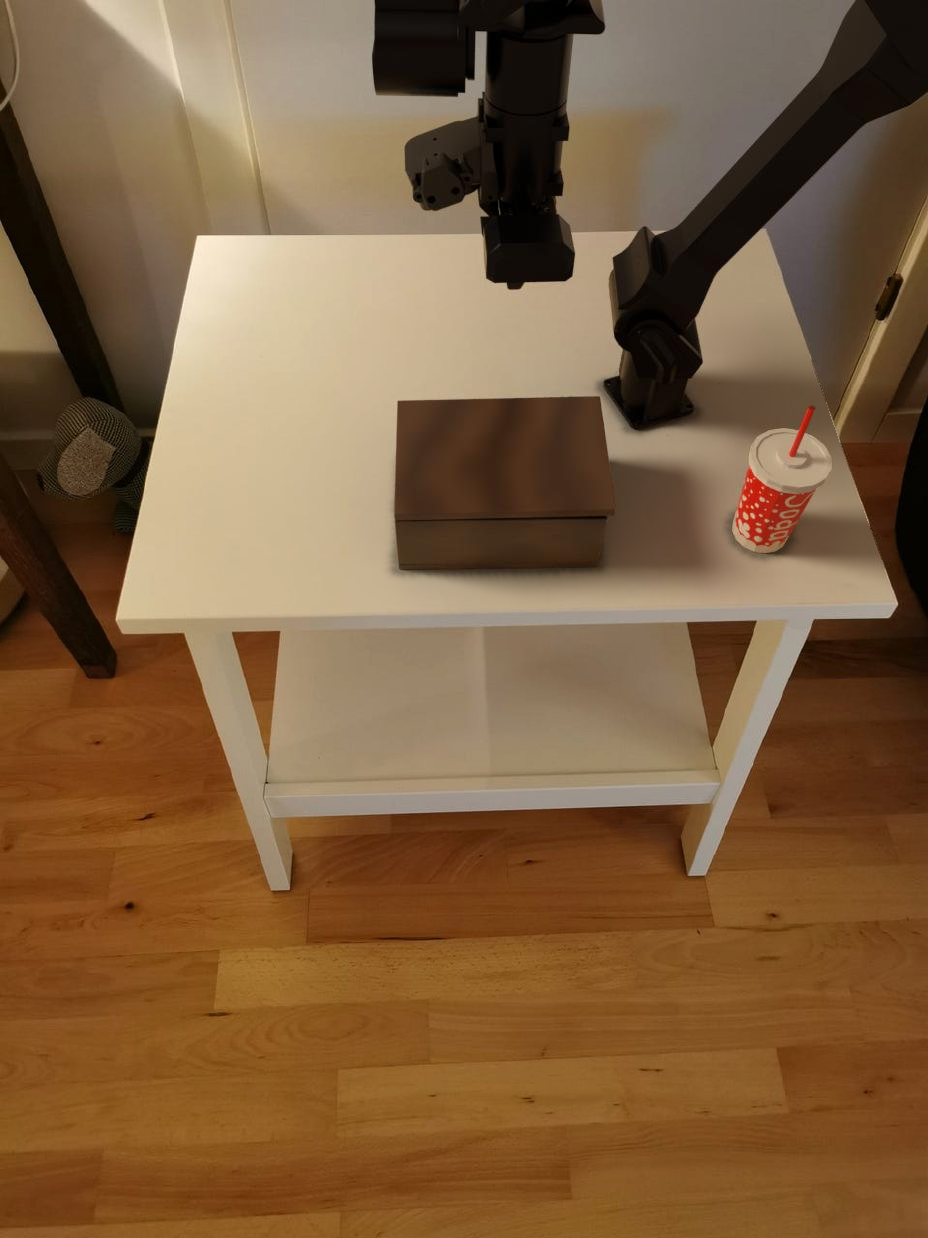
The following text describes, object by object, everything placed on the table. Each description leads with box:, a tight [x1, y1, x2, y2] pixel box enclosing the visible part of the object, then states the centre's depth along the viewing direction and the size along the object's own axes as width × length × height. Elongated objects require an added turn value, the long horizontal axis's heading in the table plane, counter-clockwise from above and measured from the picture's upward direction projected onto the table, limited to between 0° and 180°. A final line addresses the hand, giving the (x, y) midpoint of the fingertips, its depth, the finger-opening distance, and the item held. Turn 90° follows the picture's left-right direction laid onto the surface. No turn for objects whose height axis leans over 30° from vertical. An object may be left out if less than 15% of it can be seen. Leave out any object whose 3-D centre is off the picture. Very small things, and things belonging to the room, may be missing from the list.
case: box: [394, 516, 608, 570], centre depth 77 cm, size 16×12×6 cm
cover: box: [393, 395, 617, 521], centre depth 74 cm, size 17×12×1 cm
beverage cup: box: [731, 405, 833, 554], centre depth 73 cm, size 6×6×14 cm
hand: (513, 286), depth 77 cm, fingers closed
